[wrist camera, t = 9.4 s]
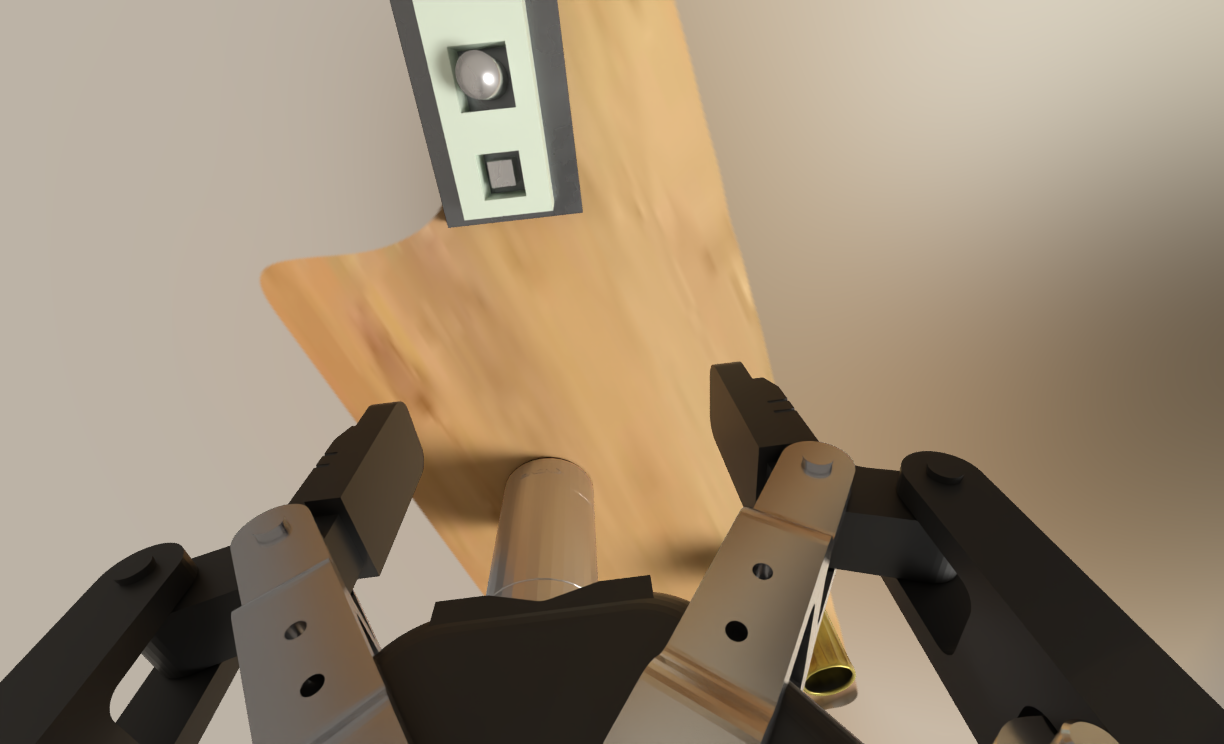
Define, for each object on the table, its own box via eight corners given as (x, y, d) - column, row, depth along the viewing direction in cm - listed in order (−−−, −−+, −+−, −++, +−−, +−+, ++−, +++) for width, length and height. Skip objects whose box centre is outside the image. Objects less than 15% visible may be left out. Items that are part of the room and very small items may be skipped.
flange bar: (554, 202, 35) (553, 210, 33) (472, 211, 35) (464, 220, 33) (511, -89, 28) (505, -109, 25) (406, -78, 27) (389, -98, 25)
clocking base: (582, 208, 37) (584, 226, 32) (452, 223, 37) (432, 243, 32) (544, -108, 28) (537, -156, 23) (373, -91, 28) (328, -135, 23)
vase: (740, 558, 58) (786, 682, 46) (784, 533, 56) (844, 654, 44) (765, 582, 61) (815, 706, 48) (808, 559, 59) (871, 680, 46)
